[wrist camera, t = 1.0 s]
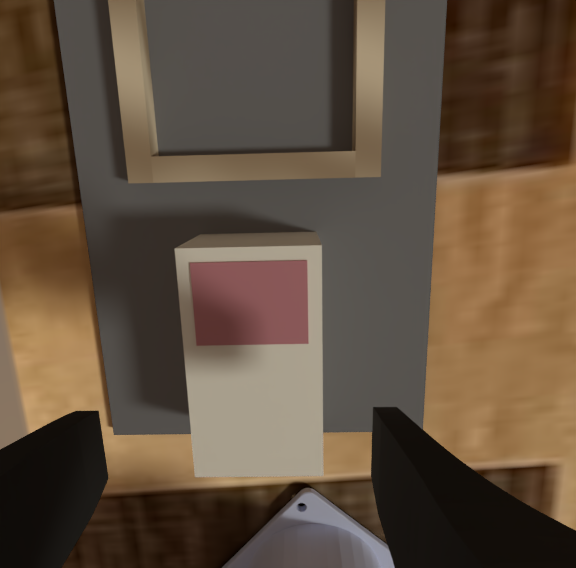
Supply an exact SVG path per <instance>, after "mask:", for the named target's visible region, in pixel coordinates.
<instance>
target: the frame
mask: <svg viewBox="0 0 576 568" xmlns="http://www.w3.org/2000/svg"><path fill="white" fill-rule="evenodd" d="M108 5H109V14H110V23H111V31H112V40H113V49H114V58H115V67H116V76H117V85H118V94H119V103H120V112H121V121H122V130H123V139H124V148H125V157H126V166H127V175H128V183H170V182H208V181H247V180H285V179H323V178H362V177H381V150H382V111H383V73H384V34H385V0H354V27H353V124H352V151H334V152H298V153H262V154H225V155H189V156H159V154H158V143H157V133H156V122H155V111H154V101H153V90H152V79H151V69H150V58H149V47H148V37H147V26H146V15H145V5H144V0H108Z"/></svg>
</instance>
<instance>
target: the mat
mask: <svg viewBox="0 0 576 568" xmlns="http://www.w3.org/2000/svg"><path fill="white" fill-rule="evenodd" d="M54 5H55V13H56V20H57V27H58V34H59V42H60V49H61V56H62V63H63V70H64V78H65V85H66V92H67V99H68V107H69V114H70V121H71V128H72V135H73V143H74V150H75V157H76V164H77V172H78V179H79V186H80V193H81V200H82V208H83V215H84V222H85V229H86V237H87V244H88V251H89V258H90V265H91V273H92V280H93V287H94V294H95V302H96V309H97V316H98V323H99V330H100V338H101V345H102V352H103V359H104V367H105V374H106V381H107V388H108V395H109V403H110V410H111V417H112V424H113V432H114V435H145V434H191V427H190V416H189V404H188V393H187V382H186V371H185V360H184V349H183V338H182V326H181V315H180V304H179V293H178V282H177V271H176V259H175V248H176V247H178V246H180V245H182V244H184V243H186V242H187V241H189V240H191V239H193V238H195V237H196V236H198V235H200V234H233V233H277V232H317V235H318V237H319V239H320V242H321V244H322V344H323V432H372V425H373V407H397V408H399V409H400V410H401V411H402V412H403V413H405V414H406V415H407V416H408V417H409V418H410V419H411V420H412V421H413V422H415V423H416V424H417V425H418V426H419V427H420V428H421V429H422V430H423V415H424V398H425V380H426V362H427V344H428V327H429V309H430V291H431V274H432V256H433V238H434V220H435V203H436V185H437V167H438V150H439V132H440V114H441V97H442V79H443V61H444V43H445V26H446V8H447V0H385V34H384V73H383V111H382V150H381V177H362V178H323V179H285V180H247V181H208V182H170V183H128V175H127V166H126V157H125V148H124V139H123V130H122V121H121V112H120V103H119V94H118V85H117V76H116V67H115V58H114V49H113V40H112V31H111V23H110V14H109V5H108V0H54ZM144 5H145V15H146V26H147V37H148V47H149V58H150V69H151V79H152V90H153V101H154V111H155V122H156V133H157V143H158V154H159V156H189V155H225V154H262V153H298V152H334V151H352V124H353V27H354V0H144Z"/></svg>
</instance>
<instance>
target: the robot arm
mask: <svg viewBox="0 0 576 568" xmlns="http://www.w3.org/2000/svg"><path fill="white" fill-rule="evenodd" d="M371 477H372V483H373V488H374V494H375V499H376V505H377V510H378V514H379V518H380V521H381V525H382V528H383V531H384V534H385V538H386V541H387V544H388V545H387V544H386V543H384V542H383V541H382V540H380V539H379V538H378V537H376V536H375V535H374V534H372V533H371V532H370V531H368V530H367V529H366V528H364V527H363V526H362V525H360V524H359V523H358V522H356V521H355V520H354V519H352V518H351V517H350V516H348V515H347V514H346V513H344V512H343V511H342V510H340V509H339V508H338V507H337V506H335V505H334V504H333V503H331V502H330V501H329V500H327V499H326V498H325V497H323V496H322V495H321V494H319V493H318V492H317V491H315V490H314V489H312V488H304V489H302V490H301V491H300V492H299V493H298V494H297V495H296V496H295V497H294V498H293V499H291V500H290V501H289V502H288V503H287V504H286V505H285V506H284V507H283V508H282V509H281V510H280V511H279V512H278V513H277V514H276V515H275V516H274V517H273V518H272V519H271V520H270V521H269V522H268V523H267V524H266V525H265V526H264V527H263V528H262V529H261V530H260V531H259V532H258V533H257V534H256V535H255V536H254V537H253V538H252V539H251V540H250V541H249V542H248V543H247V544H245V545H244V546H243V547H242V548H241V549H240V550H239V551H238V552H237V553H236V554H235V555H234V556H233V557H232V558H231V559H230V560H229V561H228V562H227V563H226V564H225V565H224V566H223V567H222V568H576V531H575V530H573V529H571V528H569V527H567V526H566V525H564V524H562V523H560V522H558V521H556V520H554V519H552V518H550V517H548V516H547V515H545V514H543V513H541V512H539V511H537V510H535V509H534V508H532V507H530V506H528V505H527V504H525V503H523V502H521V501H520V500H518V499H516V498H515V497H513V496H512V495H510V494H508V493H507V492H505V491H504V490H502V489H500V488H499V487H497V486H496V485H494V484H493V483H491V482H490V481H488V480H487V479H485V478H484V477H482V476H481V475H479V474H478V473H477V472H475V471H474V470H472V469H471V468H470V467H468V466H467V465H466V464H464V463H463V462H462V461H460V460H459V459H458V458H456V457H455V456H454V455H452V454H451V453H450V452H449V451H447V450H446V449H445V448H444V447H442V446H441V445H440V444H439V443H438V442H436V441H435V440H434V439H433V438H432V437H431V436H429V435H428V434H427V433H426V432H425V431H424V430H422V429H421V428H420V427H419V426H418V425H417V424H416V423H415V422H413V421H412V420H411V419H410V418H409V417H408V416H407V415H406V414H405V413H403V412H402V411H401V410H400V409H399V408H397V407H373V425H372V464H371ZM107 480H108V472H107V465H106V458H105V452H104V445H103V438H102V431H101V424H100V418H99V411H75V412H72V413H70V414H67V415H65V416H63V417H61V418H59V419H57V420H55V421H53V422H51V423H49V424H47V425H45V426H43V427H42V428H40V429H38V430H36V431H34V432H32V433H30V434H28V435H27V436H25V437H23V438H21V439H19V440H17V441H15V442H14V443H12V444H10V445H8V446H6V447H4V448H2V449H1V450H0V568H61V567H62V566H63V564H64V562H65V561H66V559H67V557H68V556H69V554H70V552H71V551H72V549H73V547H74V546H75V544H76V542H77V541H78V539H79V537H80V536H81V534H82V532H83V531H84V529H85V527H86V525H87V524H88V522H89V520H90V518H91V517H92V515H93V513H94V510H95V508H96V506H97V504H98V502H99V499H100V497H101V495H102V492H103V490H104V487H105V485H106V483H107ZM299 503H304V504H305V505H304V506H299V505H298V504H299Z"/></svg>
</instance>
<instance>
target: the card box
mask: <svg viewBox="0 0 576 568" xmlns="http://www.w3.org/2000/svg"><path fill="white" fill-rule="evenodd" d="M175 259H176V271H177V282H178V293H179V304H180V315H181V326H182V338H183V349H184V360H185V371H186V382H187V393H188V404H189V416H190V427H191V438H192V449H193V460H194V471H195V477H266V476H323V344H322V244H321V242H320V239H319V237H318V235H317V232H277V233H233V234H200V235H198V236H196V237H195V238H193V239H191V240H189V241H187V242H186V243H184V244H182V245H180V246H178V247H176V248H175Z"/></svg>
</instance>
